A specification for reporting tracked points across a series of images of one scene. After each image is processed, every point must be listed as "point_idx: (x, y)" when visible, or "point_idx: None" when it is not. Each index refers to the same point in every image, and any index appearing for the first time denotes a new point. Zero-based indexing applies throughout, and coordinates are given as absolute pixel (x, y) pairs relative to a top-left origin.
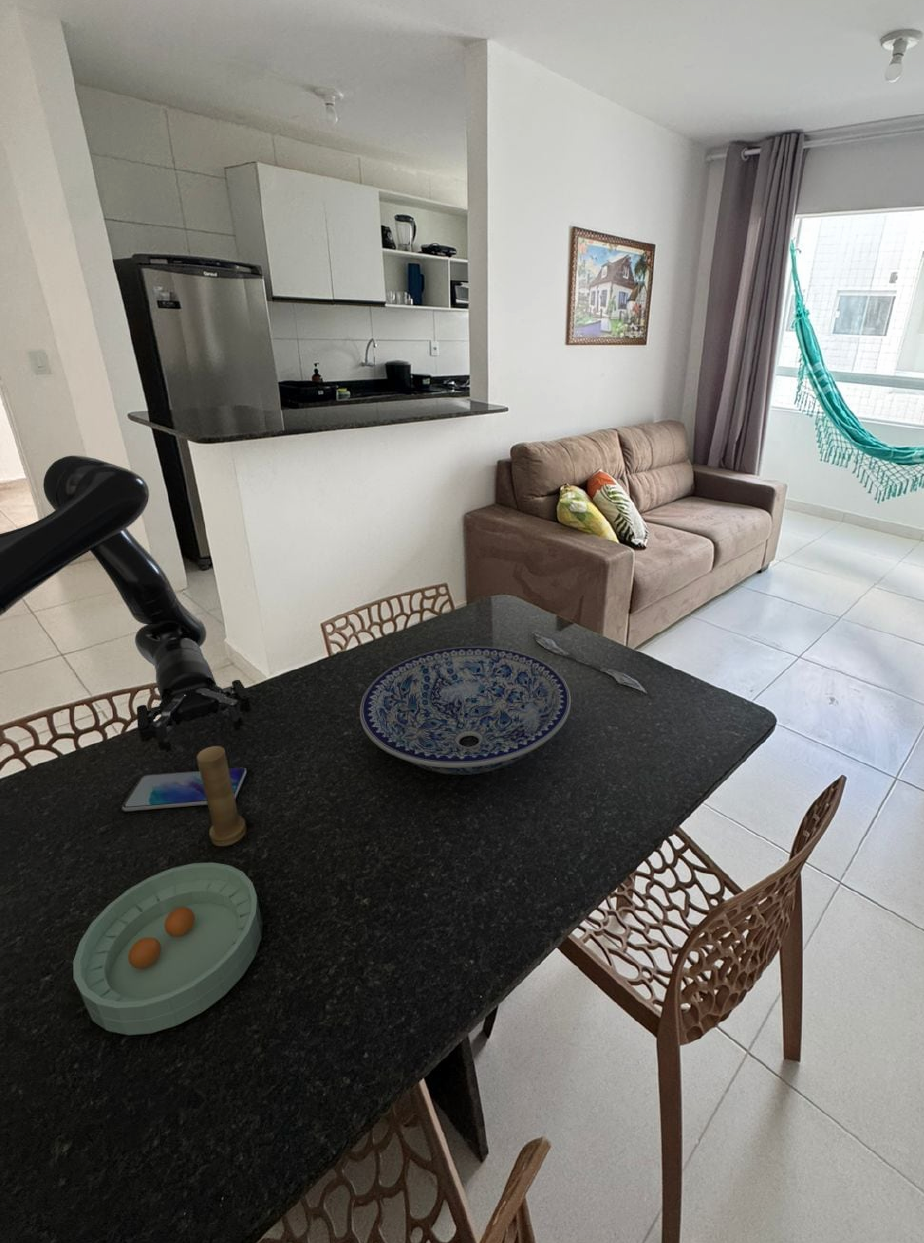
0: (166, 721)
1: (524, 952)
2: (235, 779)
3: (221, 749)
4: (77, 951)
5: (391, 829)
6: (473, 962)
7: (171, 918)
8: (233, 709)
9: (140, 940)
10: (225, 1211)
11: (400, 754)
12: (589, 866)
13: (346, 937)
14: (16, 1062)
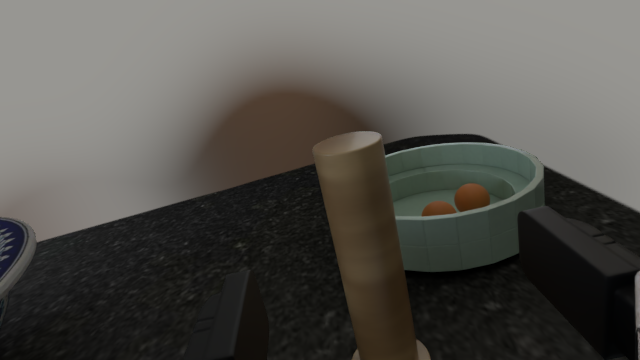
0: (634, 315)
1: (168, 207)
2: None
3: (319, 149)
4: (537, 160)
5: (142, 315)
6: (202, 205)
7: (443, 201)
8: (216, 323)
9: (474, 188)
10: (384, 149)
11: (29, 241)
12: (54, 245)
13: (274, 223)
14: (569, 179)
